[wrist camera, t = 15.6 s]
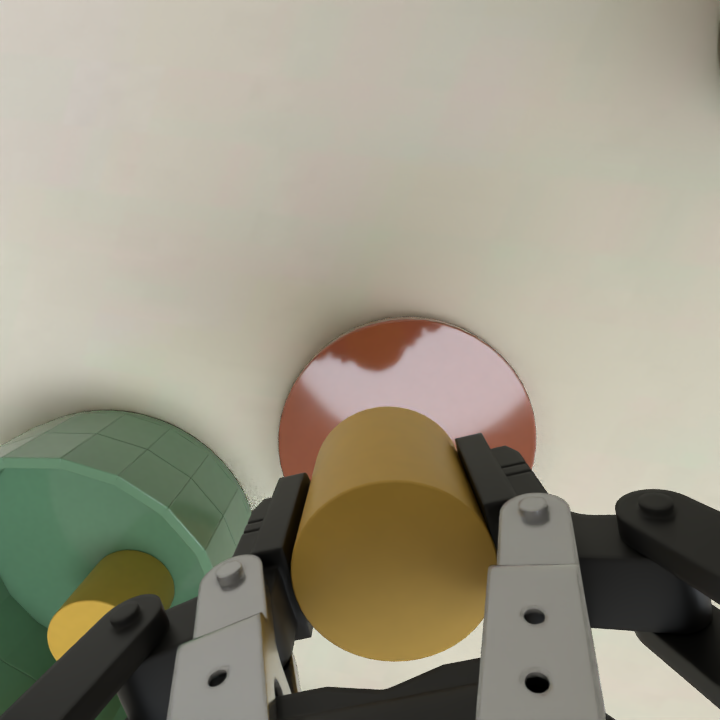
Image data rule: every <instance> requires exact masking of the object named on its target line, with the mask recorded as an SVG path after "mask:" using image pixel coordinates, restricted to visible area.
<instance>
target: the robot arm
mask: <svg viewBox="0 0 720 720" xmlns="http://www.w3.org/2000/svg"><path fill="white" fill-rule="evenodd" d="M455 443H456V448H457V452H458V456H459V458H460V460H461V463H462V465H463V468H464V470H465V473H466V475H467V478H468V480H469V483H470V485H471V488H472V490H473V493H474V495H475V498H476V500H477V503H478V505H479V508H480V510H481V513H482V515H483V518H484V520H485V523H486V525H487V528H488V530H489V533H490V535H491V537H492V539H493V542H494V545H495V548H496V551H497V565H489V567H488V574H487V586H486V598H485V610H484V623H483V635H482V647H481V658H477V659H471V660H466V661H461V662H455V663H450V664H445V665H442V666H439V667H437V668H435V669H432V670H430V671H428V672H426V673H423V674H421V675H419V676H416V677H414V678H412V679H409V680H407V681H405V682H403V683H400V684H398V685H396V686H393V687H391V688H388V689H384V690H374V689H356V688H338V687H324V688H318V689H313V690H308V691H303V692H301V687H300V681H299V675H298V669H297V664H296V661H295V658H294V655H293V652H292V651H293V646H294V641H295V640H300V639H305V638H310V637H311V636H312V629H313V626H312V625H311V623H310V622H309V621H308V620H307V618H306V617H305V615H304V614H303V612H302V610H301V609H300V606H299V604H298V602H297V600H296V597H295V594H294V591H293V587H292V581H291V559H292V553H293V548H294V544H295V540H296V537H297V533H298V529H299V525H300V521H301V517H302V513H303V509H304V506H305V502H306V498H307V494H308V490H309V486H310V479H309V476H308V475H307V473H305V472H304V473H300V474H296V475H291V476H287V477H282V478H280V479H279V480H278V483H277V486H276V488H275V491H274V493H273V496H272V498H268V499H264V500H263V501H262V502H261V503H260V504H259V505H258V506H257V507H256V508H255V509H254V510H253V511H252V514H251V516H250V518H249V520H248V524H247V525H246V527H245V529H244V534H242V536H241V538H240V541H239V543H238V545H237V548H236V550H235V552H234V554H233V557H232V558H229V559H227V560H225V561H223V562H221V563H219V564H218V565H216V566H215V567H213V568H212V569H211V570H210V571H209V572H208V573H207V574H206V575H205V576H204V577H203V579H202V580H201V582H200V585H199V590H198V596H197V597H195V598H193V599H191V600H188V601H186V602H183V603H181V604H179V605H176V606H174V607H172V608H169V609H167V610H165V609H164V606H163V604H162V601H161V599H160V597H159V596H157V595H155V594H143V595H139V596H135V597H133V598H130V599H128V600H126V601H124V602H122V603H120V604H119V605H117V606H116V607H114V608H113V609H111V610H110V611H109V612H107V613H106V614H105V615H104V616H103V617H102V618H101V619H100V620H99V621H98V622H97V623H96V624H95V625H94V626H93V627H91V628H90V629H89V630H88V631H87V632H86V633H85V634H84V635H83V636H82V637H81V638H80V639H79V640H78V641H77V642H76V643H75V644H74V645H73V646H72V647H71V648H70V649H69V650H68V651H67V652H66V653H65V654H64V655H63V656H62V657H61V658H60V659H59V660H57V661H56V662H55V663H54V664H53V665H52V666H51V667H50V668H49V669H48V670H47V671H46V672H45V673H44V674H43V675H42V676H41V677H40V678H39V679H38V680H37V681H36V682H35V683H34V684H33V685H32V686H31V687H30V688H29V689H28V690H27V691H26V692H25V693H23V694H22V695H21V696H20V697H19V698H18V699H17V700H16V701H15V702H14V703H13V704H12V705H11V706H10V707H9V708H8V709H7V710H6V711H5V712H4V713H3V714H2V715H1V716H0V720H95V718H96V717H97V716H98V715H99V714H100V712H101V711H102V710H103V709H104V708H105V707H106V705H107V704H108V703H109V702H110V701H111V699H112V698H113V697H114V696H115V695H116V693H117V695H118V697H119V699H120V702H121V704H122V706H123V708H124V710H125V713H126V715H127V718H126V719H125V720H615V719H614V718H612V717H611V716H609V715H608V714H606V712H605V706H604V700H603V694H602V689H601V683H600V677H599V671H598V665H597V660H596V654H595V648H594V642H593V636H592V631H591V628H601V629H615V630H628V631H635V633H636V635H637V637H638V638H639V640H640V641H641V642H642V643H643V644H644V645H645V646H647V647H648V648H649V649H650V650H651V651H652V652H654V653H655V654H656V655H657V656H658V657H659V658H661V659H662V660H663V661H664V662H665V663H666V664H668V665H669V666H670V667H671V668H672V669H673V670H675V671H676V672H677V673H678V674H679V675H680V676H682V677H683V678H684V679H685V680H686V681H687V682H689V683H690V684H691V685H692V686H693V687H695V688H696V689H697V690H698V691H699V692H700V693H702V694H703V695H704V696H705V697H706V698H707V699H709V700H710V701H711V702H712V703H713V704H714V705H716V706H717V707H718V708H719V709H720V609H718V608H717V607H715V606H714V605H712V604H711V599H712V600H713V601H715V602H716V603H718V604H720V511H717V510H715V509H713V508H711V507H709V506H707V505H704V504H702V503H700V502H698V501H696V500H694V499H691V498H689V497H687V496H685V495H682V494H680V493H676V492H673V491H668V490H660V489H646V490H638V491H634V492H631V493H628V494H626V495H624V496H622V497H621V498H620V499H619V500H618V501H617V503H616V505H615V511H616V515H585V514H578V513H574V512H571V511H570V507H569V505H568V504H567V502H566V501H564V500H563V499H562V498H560V497H558V496H555V495H552V494H548V493H547V491H546V490H545V489H544V487H543V486H542V484H541V483H540V481H539V480H538V478H537V477H536V476H535V474H534V473H533V471H531V468H530V467H529V466H528V464H527V463H526V461H525V460H524V458H523V457H522V455H521V454H520V453H519V452H518V451H516V450H514V449H512V448H510V447H508V446H506V445H505V446H501V447H496V448H492V449H490V447H489V445H488V443H487V442H486V440H485V438H484V436H483V434H482V433H477V434H473V435H468V436H464V437H460V438H455Z"/></svg>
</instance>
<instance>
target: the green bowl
mask: <svg viewBox="0 0 720 720" xmlns="http://www.w3.org/2000/svg"><path fill="white" fill-rule="evenodd" d="M251 514H252V513H251V509H250V506H249V504H248V501H247V499H246V497H245V495H244V492H243V490H242V489H241V487H240V485H239V484H238V482H237V480H236V479H235V477H234V476H233V474H232V473H231V472H230V471H229V469H228V468H227V467H226V466H225V464H224V463H223V462H222V461H221V460H220V459H219V458H218V457H217V456H216V455H215V454H214V453H213V452H212V451H211V450H210V449H209V448H207V447H206V446H205V445H204V444H202V443H201V442H200V441H198V440H197V439H196V438H194V437H193V436H191V435H189V434H188V433H186V432H184V431H182V430H181V429H179V428H177V427H175V426H173V425H170V424H168V423H166V422H164V421H161V420H159V419H155V418H152V417H149V416H145V415H142V414H137V413H131V412H125V411H112V410H97V411H85V412H80V413H75V414H70V415H66V416H63V417H61V418H58V419H55V420H52V421H50V422H48V423H46V424H42V425H39V426H36V427H34V428H32V429H31V430H29V431H27V432H25V433H23V434H21V435H20V436H18V437H16V438H14V439H12V440H10V441H8V442H7V443H5V444H3V445H1V446H0V716H1V715H2V714H3V713H4V712H5V711H6V710H7V709H8V708H9V707H10V706H11V705H12V704H13V703H14V702H15V701H16V700H17V699H18V698H19V697H20V696H21V695H22V694H23V693H25V692H26V691H27V690H28V689H29V688H30V687H31V686H32V685H33V684H34V683H35V682H36V681H37V680H38V679H39V678H40V677H41V676H42V675H43V674H44V673H45V672H46V671H47V670H48V669H49V668H50V667H51V666H52V665H53V664H54V663H55V662H56V659H55V658H54V657H53V655H52V653H51V651H50V648H49V645H48V640H47V631H48V627H49V624H50V621H51V619H52V618H53V616H54V615H55V613H56V612H57V611H58V610H59V609H60V608H61V606H62V605H63V604H64V603H65V602H66V601H67V599H68V598H69V597H70V596H71V595H72V593H73V592H74V591H75V590H76V589H77V588H78V586H79V585H80V584H81V583H82V582H83V581H84V579H85V578H86V577H87V576H88V575H89V573H90V572H91V571H92V570H93V569H94V568H95V566H96V565H97V564H98V563H99V562H100V561H101V560H102V559H103V558H104V557H106V556H107V555H109V554H112V553H114V552H117V551H122V550H135V551H141V552H144V553H147V554H149V555H151V556H153V557H155V558H156V559H158V560H159V561H160V562H161V563H162V564H163V565H164V566H165V567H166V568H167V569H168V571H169V572H170V574H171V576H172V579H173V582H174V598H173V601H172V604H171V606H170V608H172V607H174V606H176V605H179V604H181V603H183V602H186V601H188V600H191V599H193V598H195V597H197V596H198V590H199V585H200V582H201V580H202V579H203V577H204V576H205V575H206V574H207V573H208V572H209V571H210V570H211V569H212V568H213V567H215V566H216V565H218V564H219V563H221V562H223V561H225V560H227V559H229V558H232V557H233V554H234V552H235V550H236V548H237V545H238V543H239V541H240V538H241V536H242V534H244V529H245V527H246V525H247V524H248V520H249V518H250V516H251ZM126 718H127V715H126V713H125V710H124V708H123V706H122V704H121V702H120V699H119V697H118V695H117V693H116V695H115V696H114V697H113V698H112V699H111V701H110V702H109V703H108V704H107V705H106V707H105V708H104V709H103V710H102V711H101V712H100V714H99V715H98V716H97V717H96V718H95V720H125V719H126Z"/></svg>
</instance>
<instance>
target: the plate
mask: <svg viewBox="0 0 720 720" xmlns="http://www.w3.org/2000/svg"><path fill="white" fill-rule="evenodd" d="M386 406H389V407H400V408H406V409H410V410H413V411H416V412H418V413H421V414H423V415H425V416H427V417H428V418H430V419H431V420H433V421H434V422H436V423H437V424H438V425H439V426H440V427H441V428H442V429H443V430H444V431H445V432H446V433H447V434H448V436H449V437H450V439H451V440H452V441H453V443H454V445H455V447H456V443H455V438H460V437H464V436H468V435H473V434H477V433H482V434H483V436H484V438H485V440H486V442H487V443H488V445H489V447H490V449H492V448H496V447H501V446H505V445H506V446H508V447H510V448H512V449H514V450H516V451H518V452H519V453H520V454H521V455H522V457H523V458H524V460H525V461H526V463H527V464H528V466H529V467H530V468H531V470H532V466H533V463H534V457H535V450H536V426H535V419H534V413H533V409H532V406H531V403H530V399H529V397H528V394H527V392H526V390H525V388H524V386H523V384H522V382H521V380H520V379H519V377H518V376H517V374H516V373H515V371H514V370H513V368H512V367H511V366H510V365H509V364H508V363H507V361H506V360H505V359H504V358H503V357H502V356H501V355H500V354H499V353H498V352H497V351H495V350H494V349H493V348H492V347H491V346H490V345H488V344H487V343H486V342H485V341H483V340H481V339H480V338H478V337H477V336H475V335H474V334H472V333H471V332H468V331H466V330H464V329H462V328H460V327H458V326H456V325H453V324H449V323H446V322H443V321H440V320H435V319H429V318H424V317H394V318H386V319H381V320H377V321H372V322H369V323H366V324H363V325H360V326H358V327H355V328H353V329H351V330H349V331H347V332H345V333H343V334H341V335H340V336H338V337H337V338H335V339H334V340H332V341H331V342H329V343H328V344H326V345H325V346H324V347H323V348H322V349H321V350H320V351H319V352H318V353H316V354H315V355H314V356H313V358H312V359H311V360H310V361H309V362H308V363H307V365H306V366H305V367H304V368H303V370H302V371H301V373H300V374H299V376H298V378H297V379H296V381H295V382H294V384H293V386H292V388H291V390H290V393H289V395H288V397H287V399H286V401H285V405H284V408H283V412H282V415H281V420H280V426H279V441H278V449H279V457H280V464H281V468H282V471H283V475H284V477H287V476H291V475H296V474H300V473H304V472H305V473H307V475H308V476H309V479H310V482H311V478H312V475H313V471H314V467H315V463H316V459H317V456H318V453H319V450H320V448H321V446H322V444H323V442H324V440H325V439H326V437H327V436H328V434H329V433H330V432H331V431H332V430H333V429H334V428H335V427H336V426H337V425H338V424H339V423H341V422H342V421H343V420H345V419H346V418H348V417H350V416H352V415H354V414H356V413H358V412H360V411H363V410H366V409H371V408H376V407H386ZM456 449H457V448H456Z"/></svg>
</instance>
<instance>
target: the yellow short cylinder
mask: <svg viewBox="0 0 720 720" xmlns="http://www.w3.org/2000/svg"><path fill="white" fill-rule="evenodd" d="M143 594H155V595H157V596H159V597H160V599H161V601H162V604H163V606H164V609H165V610H167V609H169V608H170V606H171V604H172V601H173V598H174V582H173V579H172V576H171V574H170V572H169V571H168V569H167V568H166V567H165V566H164V565H163V564H162V563H161V562H160V561H159V560H158V559H156V558H155V557H153V556H151V555H149V554H147V553H144V552H141V551H135V550H122V551H117V552H114V553H112V554H109V555H107V556H106V557H104V558H103V559H102V560H101V561H100V562H99V563H98V564H97V565H96V566H95V568H94V569H93V570H92V571H91V572H90V573H89V575H88V576H87V577H86V578H85V579H84V581H83V582H82V583H81V584H80V585H79V586H78V588H77V589H76V590H75V591H74V592H73V593H72V595H71V596H70V597H69V598H68V599H67V601H66V602H65V603H64V604H63V605H62V606H61V608H60V609H59V610H58V611H57V612H56V613H55V615H54V616H53V618H52V619H51V621H50V624H49V627H48V631H47V640H48V645H49V648H50V651H51V653H52V655H53V657H54V658H55V659H56V661H57V660H59V659H60V658H61V657H62V656H63V655H64V654H65V653H66V652H67V651H68V650H69V649H70V648H71V647H72V646H73V645H74V644H75V643H76V642H77V641H78V640H79V639H80V638H81V637H82V636H83V635H84V634H85V633H86V632H87V631H88V630H89V629H90V628H91V627H93V626H94V625H95V624H96V623H97V622H98V621H99V620H100V619H101V618H102V617H103V616H104V615H105V614H106V613H107V612H109V611H110V610H111V609H113V608H114V607H116V606H117V605H119V604H120V603H122V602H124V601H126V600H128V599H130V598H133V597H135V596H139V595H143Z"/></svg>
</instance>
